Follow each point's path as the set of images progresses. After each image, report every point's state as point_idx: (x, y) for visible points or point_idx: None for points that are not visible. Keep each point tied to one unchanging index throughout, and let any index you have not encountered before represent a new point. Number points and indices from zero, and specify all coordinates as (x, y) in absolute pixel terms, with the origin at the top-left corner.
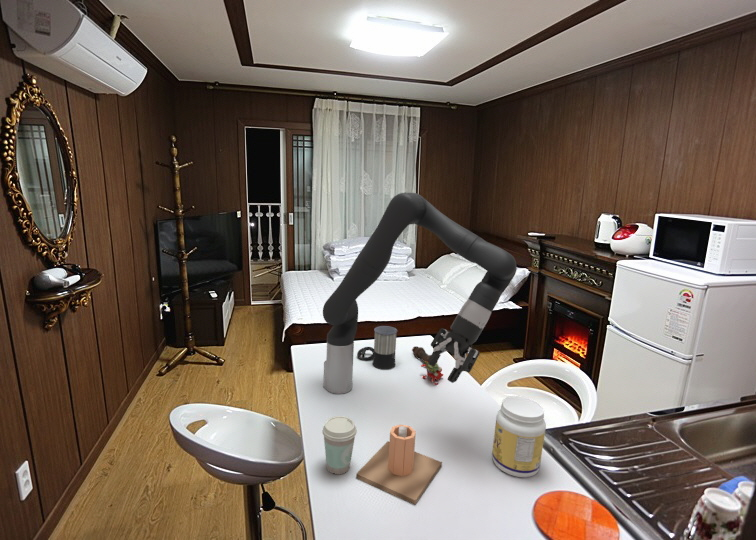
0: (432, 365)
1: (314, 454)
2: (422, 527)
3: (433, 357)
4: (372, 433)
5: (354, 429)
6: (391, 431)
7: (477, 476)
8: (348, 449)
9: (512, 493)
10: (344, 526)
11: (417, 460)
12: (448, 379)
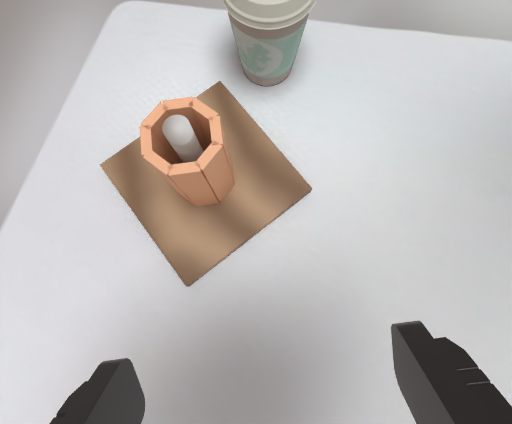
0: (395, 361)
1: (322, 30)
2: (51, 157)
3: (432, 390)
4: (369, 173)
5: (240, 4)
6: (195, 101)
7: (122, 357)
8: (232, 28)
9: (37, 408)
10: (114, 36)
11: (214, 227)
12: (110, 360)
